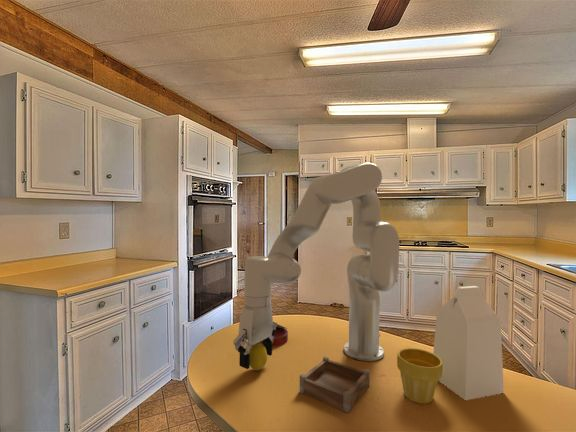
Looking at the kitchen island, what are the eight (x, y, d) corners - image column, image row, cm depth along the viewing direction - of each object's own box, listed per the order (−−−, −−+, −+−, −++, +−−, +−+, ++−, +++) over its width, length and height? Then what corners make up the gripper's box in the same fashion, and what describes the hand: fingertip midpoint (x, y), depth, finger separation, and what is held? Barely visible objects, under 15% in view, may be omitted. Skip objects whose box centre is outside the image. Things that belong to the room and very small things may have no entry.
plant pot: (443, 391, 79) (444, 353, 79) (439, 414, 70) (440, 371, 70) (400, 379, 84) (401, 344, 84) (392, 399, 76) (393, 360, 75)
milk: (465, 400, 76) (468, 294, 75) (431, 375, 87) (433, 283, 86) (503, 393, 79) (506, 291, 78) (466, 370, 90) (468, 280, 89)
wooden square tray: (324, 369, 89) (324, 356, 89) (370, 385, 81) (370, 370, 81) (298, 392, 78) (298, 376, 78) (348, 413, 70) (348, 396, 70)
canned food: (259, 352, 110) (252, 323, 113) (285, 344, 114) (277, 316, 118) (268, 349, 100) (260, 318, 104) (295, 341, 105) (287, 311, 108)
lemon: (264, 376, 85) (264, 347, 85) (244, 374, 86) (245, 345, 86) (269, 366, 91) (269, 339, 90) (251, 364, 92) (251, 337, 91)
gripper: (266, 292, 97) (265, 346, 97) (225, 305, 83) (224, 368, 83) (286, 296, 93) (284, 353, 93) (246, 310, 79) (244, 377, 79)
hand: (256, 360), depth 88 cm, fingers open, 9 cm apart
